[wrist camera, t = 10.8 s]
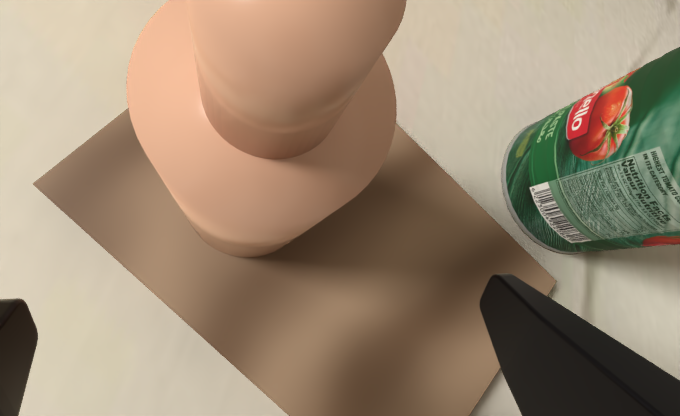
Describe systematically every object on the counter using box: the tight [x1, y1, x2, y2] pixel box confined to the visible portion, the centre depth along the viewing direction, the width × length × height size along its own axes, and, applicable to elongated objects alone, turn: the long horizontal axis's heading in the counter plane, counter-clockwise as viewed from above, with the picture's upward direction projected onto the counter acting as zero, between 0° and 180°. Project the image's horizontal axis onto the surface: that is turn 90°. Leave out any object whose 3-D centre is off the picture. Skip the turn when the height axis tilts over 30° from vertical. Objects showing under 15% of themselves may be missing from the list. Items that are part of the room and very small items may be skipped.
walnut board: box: [33, 108, 556, 416], centre depth 19 cm, size 20×13×2 cm, turn 48°
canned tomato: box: [501, 47, 680, 254], centre depth 19 cm, size 8×8×11 cm
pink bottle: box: [126, 0, 406, 257], centre depth 12 cm, size 5×5×14 cm
